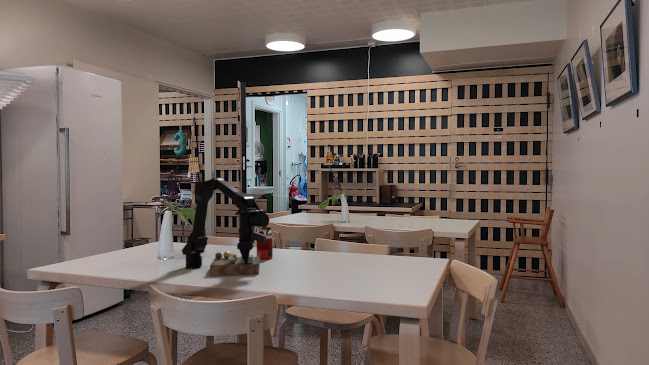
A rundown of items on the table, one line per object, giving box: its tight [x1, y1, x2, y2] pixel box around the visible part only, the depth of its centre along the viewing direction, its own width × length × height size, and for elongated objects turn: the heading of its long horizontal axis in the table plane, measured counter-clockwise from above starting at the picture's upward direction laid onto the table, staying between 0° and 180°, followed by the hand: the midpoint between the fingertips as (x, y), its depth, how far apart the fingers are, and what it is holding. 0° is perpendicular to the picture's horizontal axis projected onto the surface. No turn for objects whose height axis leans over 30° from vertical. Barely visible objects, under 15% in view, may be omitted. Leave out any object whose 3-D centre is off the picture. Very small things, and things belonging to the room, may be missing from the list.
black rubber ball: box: [214, 252, 223, 259], centre depth 207 cm, size 3×3×3 cm
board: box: [209, 256, 261, 277], centre depth 203 cm, size 20×18×4 cm
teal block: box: [240, 254, 254, 263], centre depth 199 cm, size 5×5×2 cm
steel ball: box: [228, 253, 238, 263], centre depth 198 cm, size 4×4×4 cm
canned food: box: [256, 235, 273, 261], centre depth 233 cm, size 8×8×11 cm
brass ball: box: [222, 250, 231, 259], centre depth 209 cm, size 3×3×3 cm
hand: (246, 263), depth 195 cm, fingers closed
